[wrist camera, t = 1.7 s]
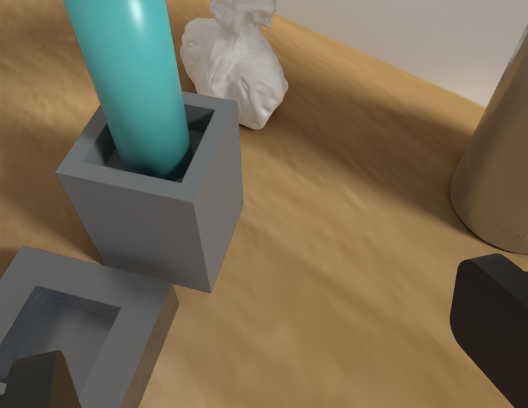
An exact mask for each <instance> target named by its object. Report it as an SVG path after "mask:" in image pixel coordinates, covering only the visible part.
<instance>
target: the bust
mask: <svg viewBox="0 0 528 408" xmlns="http://www.w3.org/2000/svg"><path fill="white" fill-rule="evenodd" d="M209 11H210V13H211V14H212V15H213V17H214V18H210V19H206V18H196V19H194V20H192V21H191V22H189V23H188V24H187V25H186V26H185V33H184V34H183V35H182V37H181V40H182V47H181V48H180V56H181V60H182V62H183V64H184V67H185V71H186V73H187V75H188V76H189V78H190V79H191V80H192V82H193V83H194V85H195V88H196V91H197V94H201V95H206V96H212V97H217V98H223V99H228V100H233V101H238V119H239V123H240V124H242V125H244V126H246V127H249V128H251V129H254V130H259V129H262V128H263V127H264V125H265V124H266V122H267V121H268V119H269V117H270V116H271V114H272V113H273V111H274V110H275V109H276V108H277V107H278V106H279V105H280V104H281V102H282V100H283V98H284V95H285V94H286V92H287V90H288V82H287V80H286V79H285V78H284V74H283V68H282V67H281V65H280V64H279V60H278V57H277V56H276V55H275V54H274V52H273V50H272V48H271V46H270V43H269V41H268V40H267V39H266V38H265V37H264V36H263V35H262V34H261V32H260V24H261V25H263V26H265V27H266V28H270V27H271V22H272V18H273V15H274V13H275V11H276V0H212V1H211V2H210V8H209Z"/></svg>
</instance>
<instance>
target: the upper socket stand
mask: <svg viewBox="0 0 528 408" xmlns="http://www.w3.org/2000/svg"><path fill="white" fill-rule="evenodd" d="M182 97H183V103H184V108H185V114H186V120H187V125H188V131H189V137H190V142H191V148H192V154H193V159H192V161H191V163H190V166H189V168H188V170H187V172H186V173H185V174H184V175H183V176H182V177H181V178H179V179H178V180H176V181H174V182H173V181H169V180H164V179H159V178H155V177H150V176H145V175H141V174H136V173H131V172H127V171H124V169H123V166H122V163H121V160H120V158H119V155H118V152H117V149H116V146H115V144H114V141H113V138H112V135H111V132H110V130H109V127H108V124H107V121H106V119H105V116H104V113H103V110H102V107H101V105H100V106H99V107H98V109H97V110H96V112H95V113H94V115H93V116H92V118H91V119H90V121H89V122H88V124H87V125H86V127H85V128H84V130H83V131H82V133H81V134H80V136H79V137H78V139H77V140H76V142H75V143H74V145H73V146H72V148H71V149H70V151H69V152H68V153H67V155H66V156H65V158H64V159H63V161H62V162H61V164H60V165H59V167H58V168H57V170H56V171H55V174H56V176H57V177H58V179H59V181H60V183H61V185H62V187H63V188H64V190H65V192H66V194H67V196H68V198H69V200H70V201H71V203H72V205H73V207H74V209H75V211H76V213H77V214H78V216H79V218H80V220H81V222H82V224H83V226H84V227H85V229H86V231H87V233H88V235H89V237H90V239H91V240H92V242H93V244H94V246H95V248H96V250H97V252H98V253H99V255H100V257H101V259H102V261H103V263H104V265H105V266H107V267H111V268H115V269H119V270H123V271H127V272H131V273H135V274H139V275H143V276H148V277H152V278H156V279H160V280H164V281H168V282H172V284H176V285H180V286H184V287H188V288H192V289H196V290H200V291H204V292H208V293H211V292H212V289H213V287H214V284H215V281H216V278H217V275H218V273H219V270H220V267H221V264H222V262H223V259H224V256H225V253H226V250H227V248H228V245H229V242H230V239H231V237H232V234H233V231H234V228H235V226H236V223H237V220H238V217H239V214H240V212H241V209H242V206H243V188H242V171H241V153H240V136H239V119H238V101H233V100H228V99H223V98H217V97H212V96H206V95H201V94H195V93H190V92H185V91H182Z"/></svg>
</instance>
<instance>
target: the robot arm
mask: <svg viewBox="0 0 528 408" xmlns="http://www.w3.org/2000/svg"><path fill="white" fill-rule="evenodd" d="M450 197H451V202H452V205H453V207H454V209H455V211H456V213H457V215H458V216H459V218H460V219H461V220H462V222H463V223H464V224H465V225H466V226H467V227H468V228H469V229H470V230H471V231H472V232H473V233H474V234H476V235H477V236H479V237H480V238H482V239H483V240H485V241H486V242H488V243H490V244H492V245H494V246H496V247H499V248H501V249H504V250H507V251H511V252H514V253H520V254H528V25H527V27H526V29H525V31H524V33H523V35H522V37H521V39H520V41H519V43H518V45H517V47H516V49H515V51H514V53H513V55H512V57H511V59H510V61H509V63H508V65H507V67H506V69H505V72H504V73H503V75H502V77H501V79H500V81H499V83H498V85H497V88H496V90H495V92H494V94H493V96H492V98H491V100H490V102H489V104H488V106H487V108H486V110H485V112H484V114H483V116H482V118H481V120H480V122H479V124H478V126H477V128H476V130H475V132H474V134H473V136H472V138H471V140H470V142H469V144H468V146H467V148H466V150H465V152H464V154H463V156H462V158H461V160H460V162H459V164H458V166H457V168H456V170H455V172H454V174H453V177H452V179H451V182H450ZM450 325H451V330H452V333H453V335H454V337H455V339H456V341H457V343H458V344H459V346H460V347H461V348H462V349H463V350H464V351H465V352H466V354H467V355H468V356H469V357H470V358H471V359H472V360H473V361H474V363H475V364H476V365H477V366H478V367H479V368H480V369H481V370H482V372H483V373H484V374H485V375H486V376H487V377H488V378H489V379H490V381H491V382H492V383H493V384H494V385H495V386H496V387H497V388H498V390H499V391H500V392H501V393H502V394H503V395H504V396H505V397H506V399H507V400H508V401H509V402H510V403H511V404H512V405H513V406H514V408H528V272H527V271H526V272H524V271H523V270H522V269H521V268H519V267H518V266H517V265H515V264H514V263H513V262H511V261H510V260H509V259H508V258H506V257H505V256H503V255H501V254H498V253H495V254H490V255H485V256H481V257H476V258H472V259H467V260H464V261H462V262H461V263H460V264H459V266H458V270H457V275H456V282H455V288H454V294H453V300H452V307H451V313H450ZM0 408H81V405H80V402H79V399H78V396H77V393H76V390H75V387H74V384H73V381H72V378H71V375H70V372H69V369H68V366H67V363H66V360H65V357H64V355H63V353H62V351H61V350H56V351H51V352H47V353H42V354H38V355H34V356H29V357H25V358H20V359H16V360H14V361H13V363H12V365H11V368H10V372H9V376H8V380H7V384H6V388H5V393H4V394H1V395H0Z"/></svg>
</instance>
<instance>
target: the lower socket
mask: <svg viewBox="0 0 528 408" xmlns="http://www.w3.org/2000/svg"><path fill="white" fill-rule="evenodd" d="M178 306H179V302H178V299H177V296H176V293H175V290H174V287H173V284H172V282H168V281H164V280H160V279H156V278H152V277H148V276H143V275H139V274H135V273H131V272H127V271H123V270H119V269H115V268H111V267H107V266H103V265H99V264H95V263H91V262H87V261H83V260H79V259H75V258H71V257H67V256H63V255H59V254H55V253H51V252H47V251H43V250H39V249H35V248H30V247H26V246H22V247H21V248H20V250H19V251H18V253H17V254H16V256H15V257H14V259H13V260H12V262H11V264H10V265H9V267H8V268H7V270H6V271H5V273H4V274H3V276H2V277H1V279H0V395H1V394H4V393H5V388H6V384H7V380H8V376H9V372H10V368H11V365H12V363H13V361H14V360H16V359H20V358H25V357H29V356H34V355H38V354H42V353H47V352H51V351H56V350H61V351H62V353H63V355H64V357H65V360H66V363H67V366H68V369H69V372H70V375H71V378H72V381H73V384H74V387H75V390H76V393H77V396H78V399H79V402H80V405H81V408H138V406H139V404H140V401H141V399H142V396H143V394H144V391H145V389H146V386H147V384H148V381H149V379H150V376H151V374H152V371H153V369H154V366H155V364H156V361H157V358H158V356H159V353H160V351H161V348H162V346H163V343H164V341H165V338H166V336H167V333H168V331H169V328H170V326H171V323H172V321H173V318H174V316H175V313H176V311H177V308H178Z"/></svg>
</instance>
